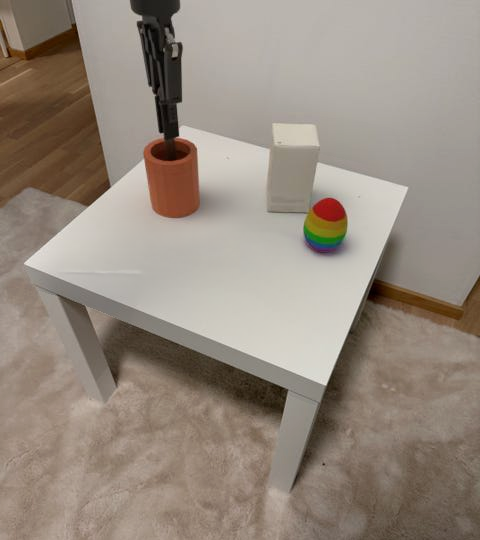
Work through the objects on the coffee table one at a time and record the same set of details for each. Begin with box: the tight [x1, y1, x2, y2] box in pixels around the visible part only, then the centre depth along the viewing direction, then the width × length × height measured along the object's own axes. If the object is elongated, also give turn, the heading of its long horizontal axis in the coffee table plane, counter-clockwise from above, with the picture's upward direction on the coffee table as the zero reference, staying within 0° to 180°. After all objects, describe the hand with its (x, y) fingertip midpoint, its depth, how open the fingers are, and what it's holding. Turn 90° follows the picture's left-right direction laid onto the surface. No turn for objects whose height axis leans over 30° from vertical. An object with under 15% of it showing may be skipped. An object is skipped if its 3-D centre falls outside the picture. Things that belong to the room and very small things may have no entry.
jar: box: [142, 137, 201, 219], centre depth 90 cm, size 10×10×12 cm
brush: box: [158, 87, 177, 161], centre depth 85 cm, size 4×4×23 cm
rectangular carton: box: [266, 122, 321, 214], centre depth 90 cm, size 9×9×15 cm
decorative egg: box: [302, 197, 349, 253], centre depth 83 cm, size 8×8×10 cm
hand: (169, 134), depth 83 cm, fingers closed on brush, 2 cm apart
